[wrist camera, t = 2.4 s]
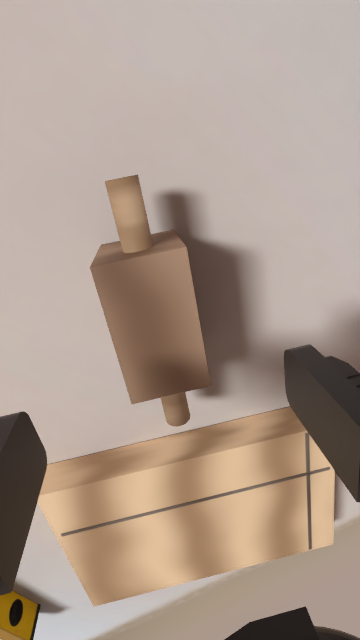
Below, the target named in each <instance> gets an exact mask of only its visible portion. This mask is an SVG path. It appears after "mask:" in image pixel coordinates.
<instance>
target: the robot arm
mask: <svg viewBox="0 0 360 640" xmlns="http://www.w3.org/2000/svg"><path fill="white" fill-rule="evenodd" d="M284 368H285V386H286V395H287V399H288V402H289V404H290V406H291V408H292V410H293V412H294V413H295V415H296V416H297V417H298V419H299V420H300V422H301V423H302V425H303V426H304V427H305V429H306V430H307V432H308V433H309V435H310V436H311V437H312V439H313V440H314V442H315V443H316V444H317V446H318V447H319V449H320V450H321V452H322V453H323V454H324V456H325V457H326V459H327V460H328V462H329V463H330V464H331V466H332V467H333V469H334V470H335V472H336V473H337V474H338V476H339V477H340V479H341V480H342V482H343V483H344V484H345V486H346V487H347V489H348V490H349V492H350V493H351V494H352V496H353V497H354V499H355V500H356V502H360V373H359V372H358V371H356V370H355V369H354V368H353V367H352V366H350V365H349V364H348V363H346V362H344V361H341V360H339V359H337V358H334V357H332V356H330V357H326V358H325V357H324V356H323V355H321V354H320V353H319V352H318V351H317V350H316V349H315V348H314V347H313V346H311V345H305V346H301V347H297V348H292V349H288V350H285V352H284ZM46 469H47V456H46V451H45V449H44V446H43V444H42V442H41V440H40V438H39V436H38V434H37V432H36V430H35V428H34V426H33V423H32V421H31V419H30V417H29V415H28V414H27V413H26V412H19V413H15V414H10V415H6V416H2V417H0V595H4V594H8V593H12V589H13V586H14V582H15V579H16V575H17V571H18V568H19V564H20V561H21V557H22V554H23V550H24V547H25V543H26V540H27V536H28V533H29V529H30V526H31V522H32V519H33V515H34V512H35V508H36V505H37V501H38V498H39V494H40V491H41V487H42V484H43V480H44V477H45V473H46ZM225 640H360V638H357V637H356V636H353V635H350V634H348V633H345V632H342V631H339V630H335V629H330V628H326V627H317V626H314V625H313V623H312V621H311V618H310V616H309V613H308V611H307V608H306V607H302V608H299V609H296V610H292V611H288V612H285V613H281V614H277V615H274V616H270V617H267V618H263V619H260V620H256V621H253V622H249V623H248V624H247V625H245V626H244V627H242V628H241V629H239V630H238V631H236V632H235V633H233V634H232V635H230V636H229V637H228V638H226V639H225Z"/></svg>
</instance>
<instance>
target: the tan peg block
mask: <svg viewBox="0 0 360 640" xmlns="http://www.w3.org/2000/svg"><path fill="white" fill-rule="evenodd" d="M105 184H106V188H107V192H108V196H109V199H110V203H111V207H112V211H113V215H114V219H115V223H116V227H117V231H118V234H119V238H120V241H118V242H113V243H108V244H103V245H101V246H100V248H99V250H98V252H97V254H96V256H95V258H94V260H93V262H92V264H91V267H90V269H91V272H92V276H93V279H94V282H95V285H96V289H97V292H98V295H99V298H100V302H101V305H102V308H103V311H104V315H105V318H106V321H107V325H108V328H109V331H110V334H111V338H112V341H113V344H114V347H115V351H116V354H117V357H118V361H119V364H120V367H121V370H122V374H123V377H124V380H125V383H126V387H127V390H128V393H129V396H130V400H131V403H132V404H135V403H139V402H143V401H148V400H152V399H156V398H160V397H161V401H162V405H163V409H164V413H165V417H166V421H167V423H168V424H169V425H171V426H181V425H183V424H185V423H187V422H188V420H189V419H190V413H189V408H188V404H187V399H186V394H185V392H186V391H190V390H195V389H199V388H203V387H208V386H211V383H210V378H209V372H208V366H207V361H206V355H205V349H204V343H203V338H202V332H201V326H200V321H199V315H198V309H197V303H196V298H195V292H194V286H193V281H192V275H191V269H190V264H189V258H188V252H187V247H186V245H185V244H184V243H183V242H182V240H181V239H180V238H179V236H178V235H177V234H176V233H175V231H174V230H170V231H165V232H160V233H155V234H151V233H150V229H149V224H148V220H147V215H146V210H145V206H144V201H143V197H142V192H141V187H140V183H139V178H138V175H134V176H128V177H123V178H119V179H114V180H109V181H105Z"/></svg>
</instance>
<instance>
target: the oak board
mask: <svg viewBox="0 0 360 640" xmlns="http://www.w3.org/2000/svg"><path fill="white" fill-rule="evenodd" d="M334 487H335V470H334V469H333V467H332V466H331V464H330V463H329V462H328V460H327V459H326V457H325V456H324V454H323V453H322V452H321V450H320V449H319V447H318V446H317V444H316V443H315V442H314V440H313V439H312V437H311V436H310V435H309V433H308V432H307V430H306V429H305V427H304V426H303V425H302V423H301V422H300V420H299V419H298V417H297V416H296V415H295V413H294V412H293V410H292V408H291V407H287V408H282V409H278V410H274V411H270V412H266V413H262V414H257V415H253V416H249V417H245V418H241V419H236V420H232V421H228V422H224V423H220V424H216V425H211V426H207V427H203V428H199V429H195V430H190V431H186V432H182V433H178V434H174V435H170V436H165V437H161V438H157V439H153V440H149V441H144V442H140V443H136V444H132V445H128V446H124V447H119V448H115V449H111V450H107V451H103V452H98V453H94V454H90V455H86V456H82V457H78V458H73V459H69V460H65V461H61V462H57V463H52V464H48V465H47V469H46V473H45V477H44V480H43V484H42V487H41V491H40V494H39V498H38V501H37V502H38V504H39V506H40V508H41V510H42V512H43V513H44V515H45V517H46V519H47V521H48V523H49V524H50V526H51V528H52V530H53V532H54V534H55V536H56V537H57V539H58V541H59V543H60V545H61V547H62V549H63V550H64V552H65V554H66V556H67V558H68V560H69V562H70V563H71V565H72V567H73V569H74V571H75V573H76V575H77V576H78V578H79V580H80V582H81V584H82V586H83V588H84V589H85V591H86V593H87V595H88V597H89V599H90V600H91V602H92V604H93V606H98V605H102V604H106V603H109V602H113V601H117V600H121V599H125V598H129V597H132V596H136V595H140V594H144V593H148V592H152V591H155V590H159V589H163V588H167V587H171V586H175V585H178V584H182V583H186V582H190V581H194V580H198V579H201V578H205V577H209V576H213V575H217V574H221V573H224V572H228V571H232V570H236V569H240V568H244V567H247V566H251V565H255V564H259V563H263V562H267V561H271V560H274V559H278V558H282V557H286V556H290V555H293V554H297V553H301V552H305V551H309V550H313V549H317V548H320V547H324V546H328V545H331V544H333V538H334Z"/></svg>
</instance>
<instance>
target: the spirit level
mask: <svg viewBox="0 0 360 640" xmlns="http://www.w3.org/2000/svg"><path fill="white" fill-rule="evenodd" d="M39 609H40V604H36V603H34V602H32V601H30V600H29V599H27V598H25V597H23V596H21V595H19V594H18V593H16V592H14V591H12V593H8V594H4V595H0V639H1V640H33V637H34V633H35V628H36V623H37V619H38V614H39Z"/></svg>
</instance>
